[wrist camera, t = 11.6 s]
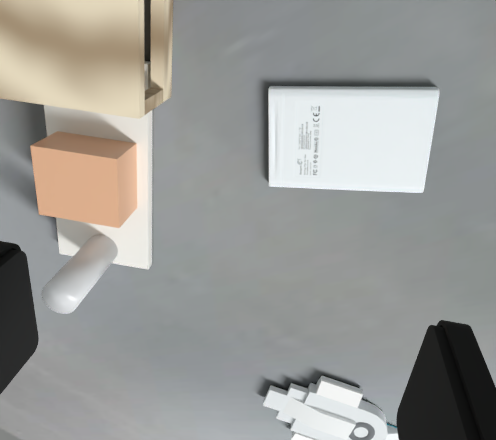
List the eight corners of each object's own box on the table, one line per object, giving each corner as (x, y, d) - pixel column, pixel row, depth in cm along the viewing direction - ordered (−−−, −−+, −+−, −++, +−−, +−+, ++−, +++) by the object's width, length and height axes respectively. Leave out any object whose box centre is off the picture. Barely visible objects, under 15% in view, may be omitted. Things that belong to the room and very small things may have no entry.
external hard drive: (420, 186, 38) (270, 180, 40) (436, 85, 34) (270, 84, 36) (423, 194, 37) (268, 188, 39) (440, 89, 33) (267, 88, 35)
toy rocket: (255, 416, 53) (252, 433, 51) (281, 356, 49) (279, 372, 47) (386, 459, 53) (389, 478, 51) (425, 404, 49) (429, 422, 47)
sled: (44, 47, 37) (-34, 64, 29) (152, 62, 36) (102, 83, 28) (64, 248, 46) (9, 303, 38) (151, 264, 45) (113, 323, 37)
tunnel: (16, -62, 34) (-54, -73, 28) (173, -45, 33) (137, -52, 27) (32, 77, 39) (-25, 94, 32) (171, 96, 37) (139, 118, 31)
